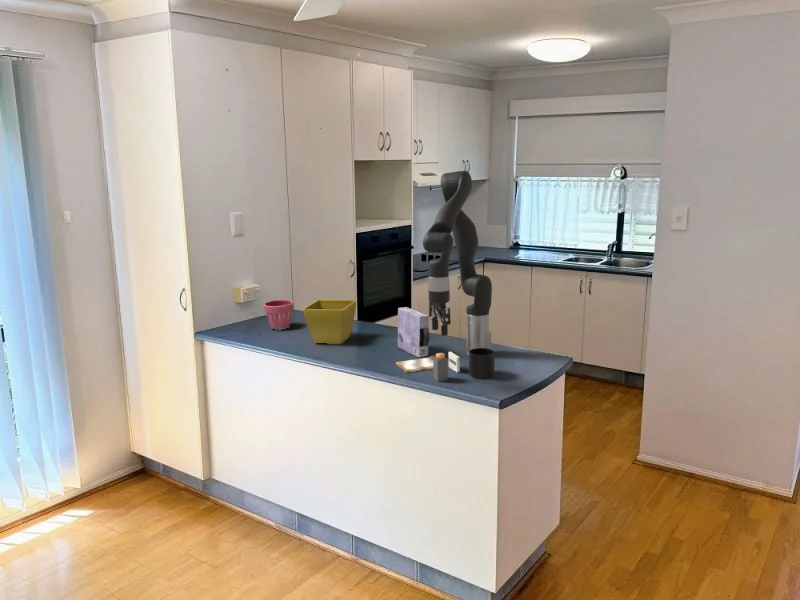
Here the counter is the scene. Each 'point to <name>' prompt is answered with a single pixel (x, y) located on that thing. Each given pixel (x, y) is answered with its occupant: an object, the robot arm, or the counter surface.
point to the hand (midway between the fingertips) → (439, 332)
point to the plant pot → (279, 313)
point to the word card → (454, 362)
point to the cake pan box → (413, 332)
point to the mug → (481, 363)
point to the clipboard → (416, 364)
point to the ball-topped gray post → (440, 367)
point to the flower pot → (330, 320)
